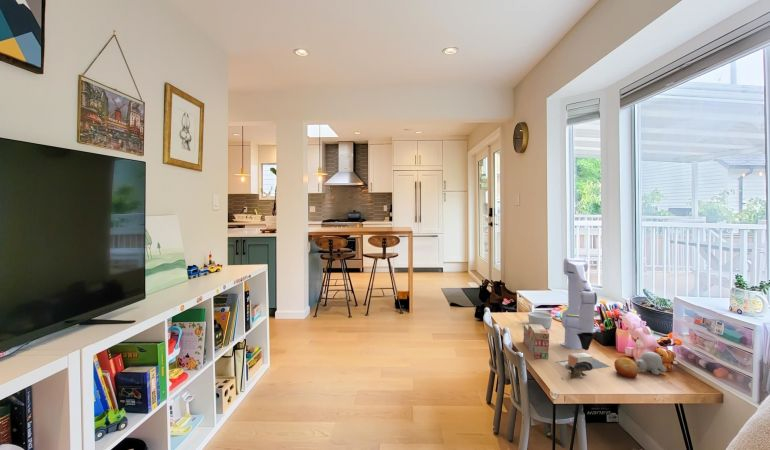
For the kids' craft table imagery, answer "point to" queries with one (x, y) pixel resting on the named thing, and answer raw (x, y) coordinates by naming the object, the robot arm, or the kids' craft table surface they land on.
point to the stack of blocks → (536, 340)
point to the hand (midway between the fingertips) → (585, 349)
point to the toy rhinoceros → (650, 363)
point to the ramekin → (540, 319)
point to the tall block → (579, 358)
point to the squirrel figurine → (579, 368)
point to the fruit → (626, 367)
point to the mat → (595, 364)
